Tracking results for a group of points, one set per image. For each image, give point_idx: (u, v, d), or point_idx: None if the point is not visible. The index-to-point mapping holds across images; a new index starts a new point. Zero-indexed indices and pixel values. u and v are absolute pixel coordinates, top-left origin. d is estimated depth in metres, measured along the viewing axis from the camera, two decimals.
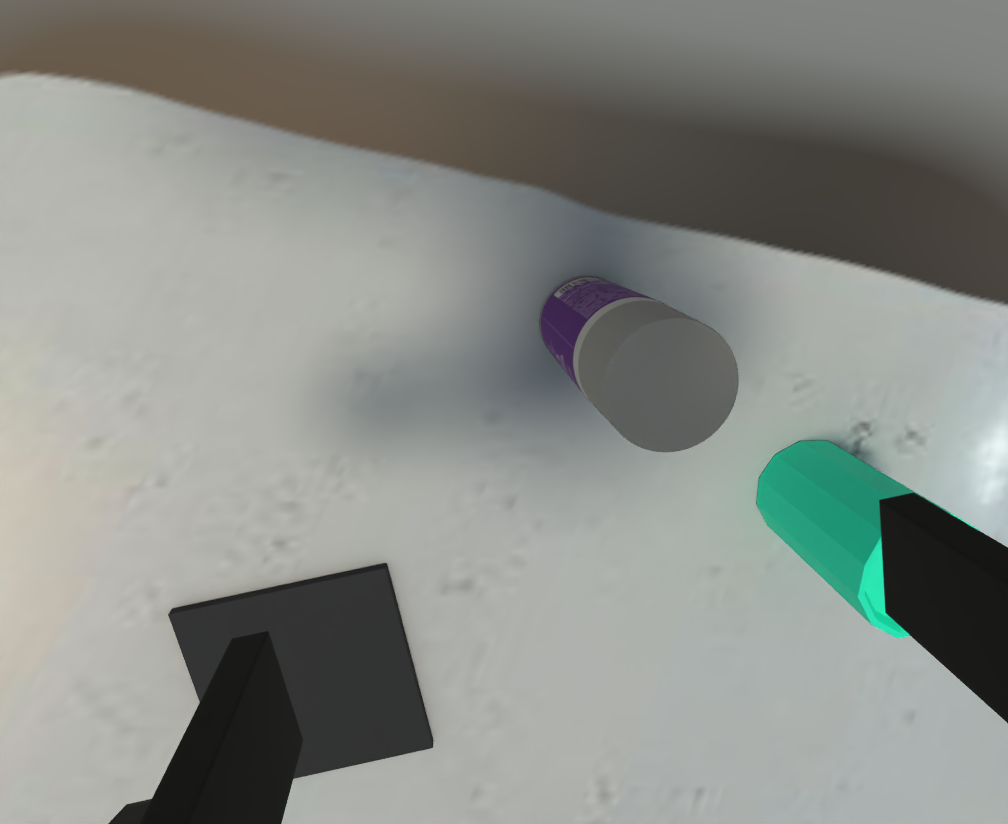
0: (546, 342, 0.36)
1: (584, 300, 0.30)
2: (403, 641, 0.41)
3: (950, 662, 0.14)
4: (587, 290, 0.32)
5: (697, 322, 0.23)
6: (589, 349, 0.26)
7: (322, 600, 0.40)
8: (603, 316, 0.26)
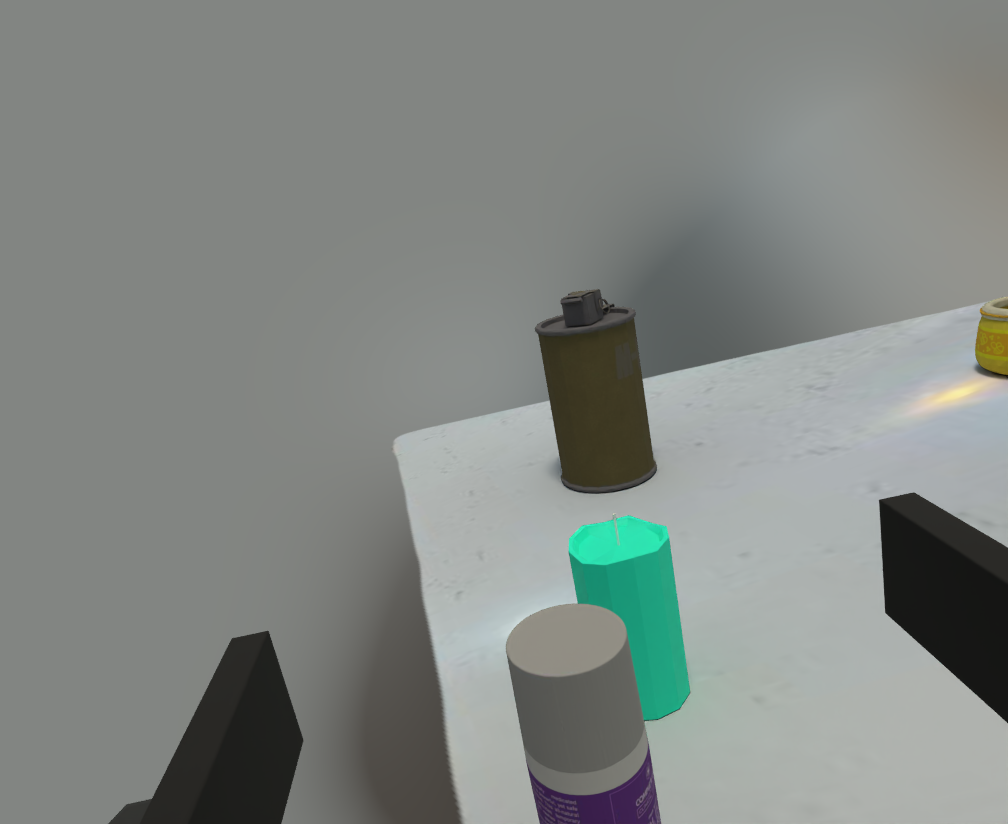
0: None
1: None
2: None
3: (950, 662, 0.14)
4: None
5: (507, 650, 0.26)
6: (587, 742, 0.25)
7: None
8: (558, 765, 0.26)
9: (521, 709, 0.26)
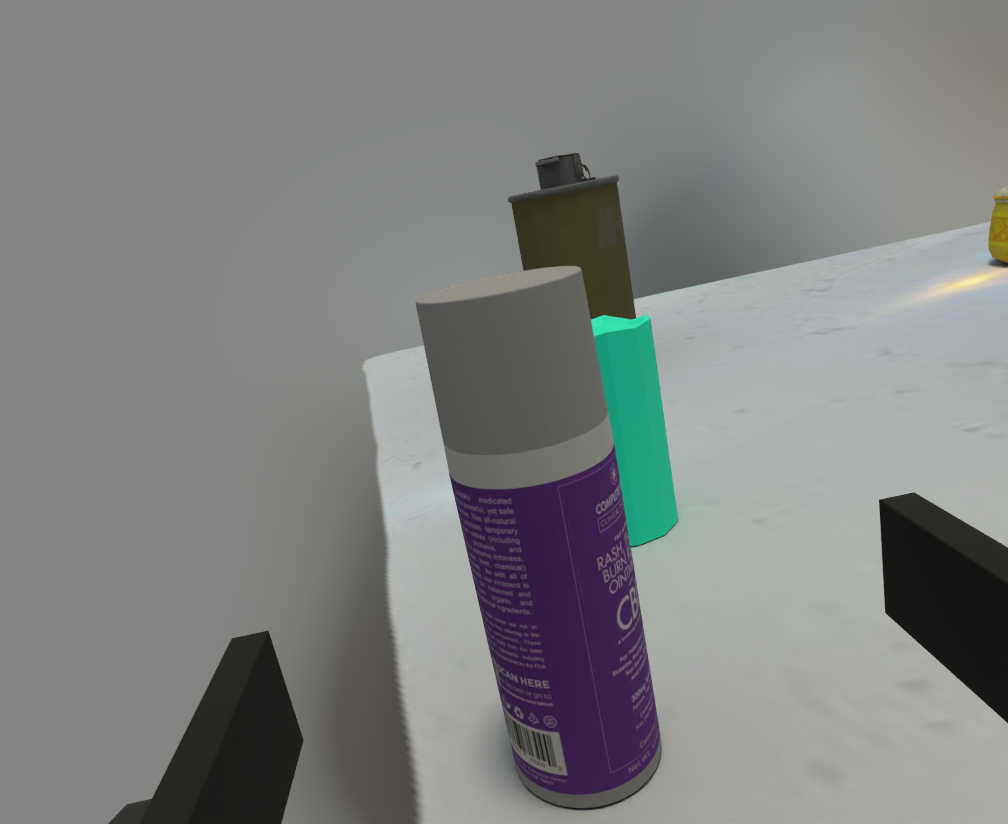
0: (638, 730, 0.21)
1: (510, 591, 0.19)
2: None
3: (950, 662, 0.14)
4: (507, 639, 0.20)
5: (417, 301, 0.19)
6: (525, 402, 0.18)
7: None
8: (485, 444, 0.18)
9: (436, 377, 0.19)
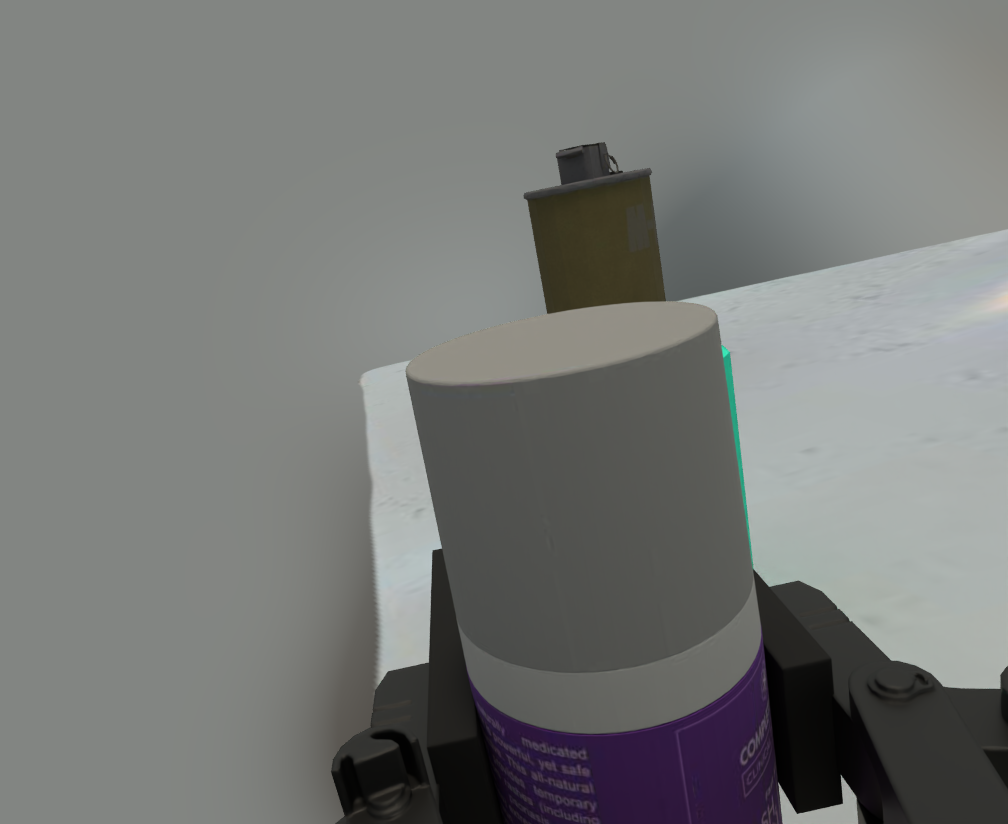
0: None
1: None
2: None
3: None
4: None
5: None
6: (619, 581, 0.09)
7: None
8: (537, 652, 0.09)
9: (443, 514, 0.10)
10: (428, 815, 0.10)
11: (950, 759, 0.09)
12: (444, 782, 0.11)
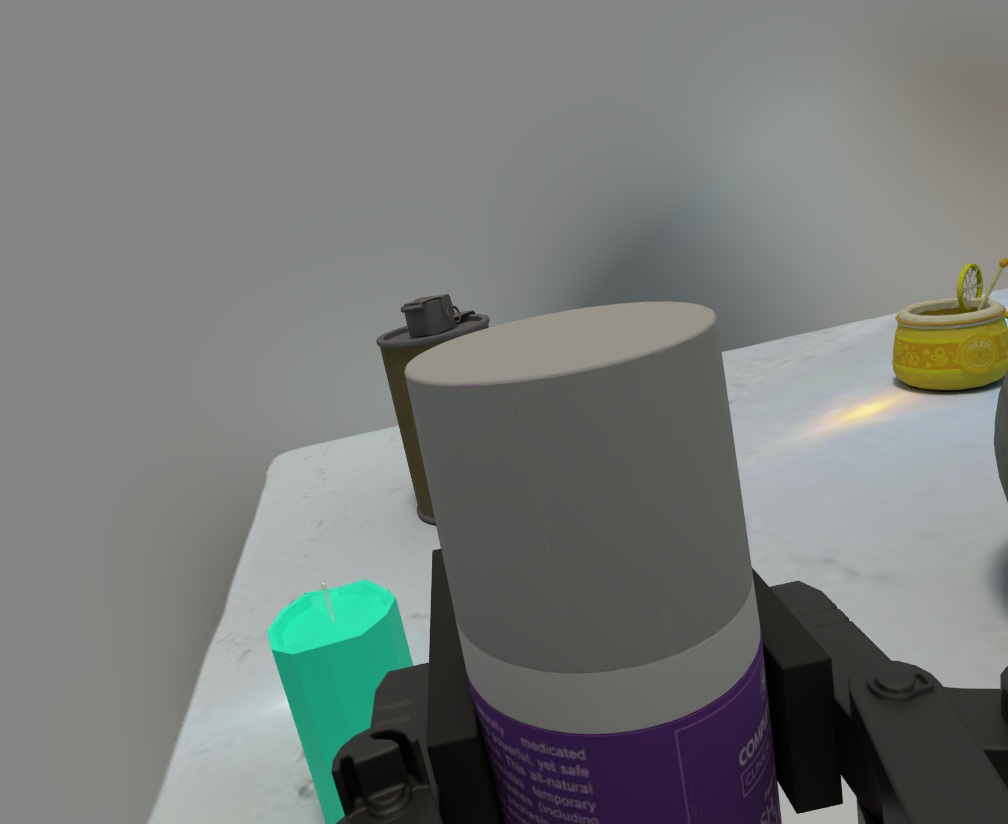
0: None
1: None
2: None
3: None
4: None
5: None
6: (618, 582, 0.09)
7: None
8: (537, 652, 0.09)
9: (442, 514, 0.10)
10: (428, 815, 0.10)
11: (951, 759, 0.09)
12: (444, 782, 0.11)
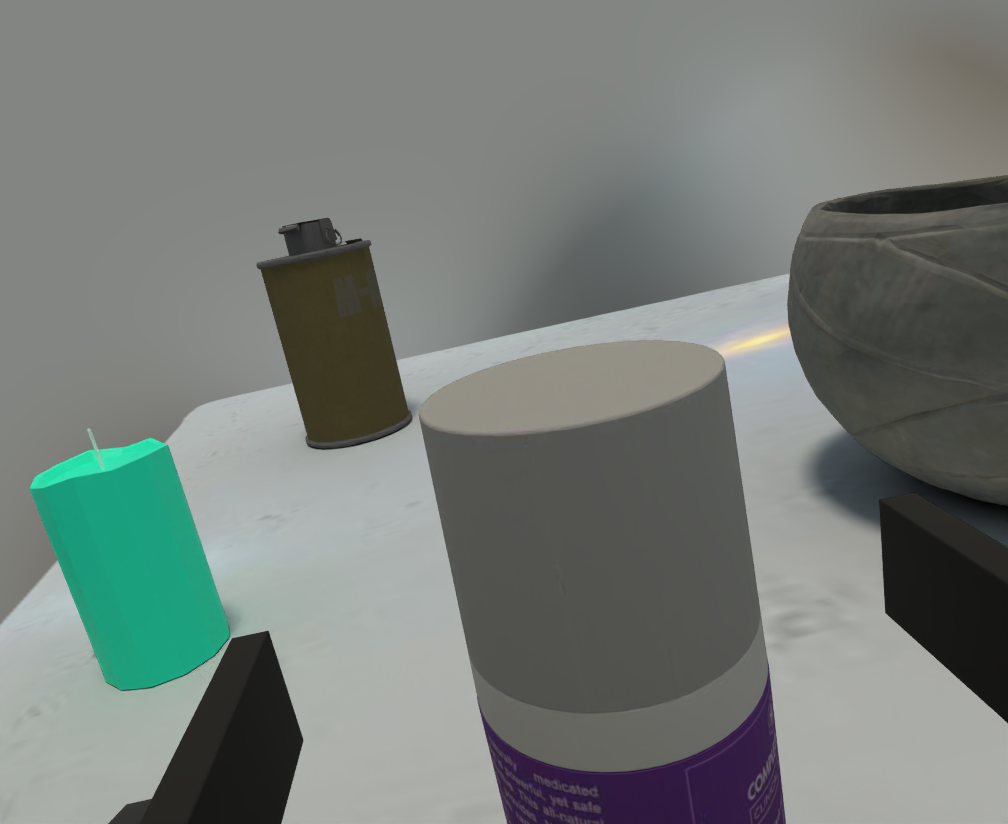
0: None
1: None
2: None
3: (950, 662, 0.14)
4: None
5: (421, 412, 0.11)
6: (631, 625, 0.09)
7: None
8: (550, 692, 0.10)
9: (456, 555, 0.10)
10: None
11: None
12: None
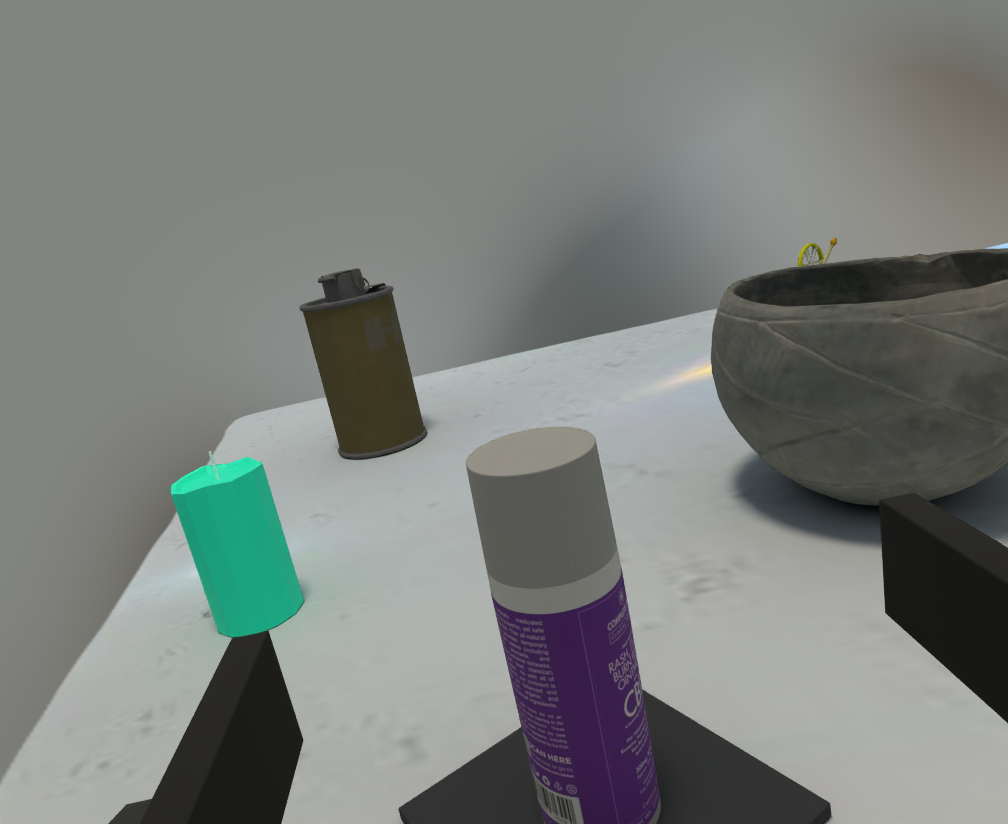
0: (641, 794, 0.26)
1: (540, 689, 0.25)
2: (489, 749, 0.33)
3: (951, 662, 0.14)
4: (537, 724, 0.25)
5: (466, 463, 0.25)
6: (553, 551, 0.23)
7: None
8: (521, 580, 0.24)
9: (482, 525, 0.24)
10: None
11: None
12: None
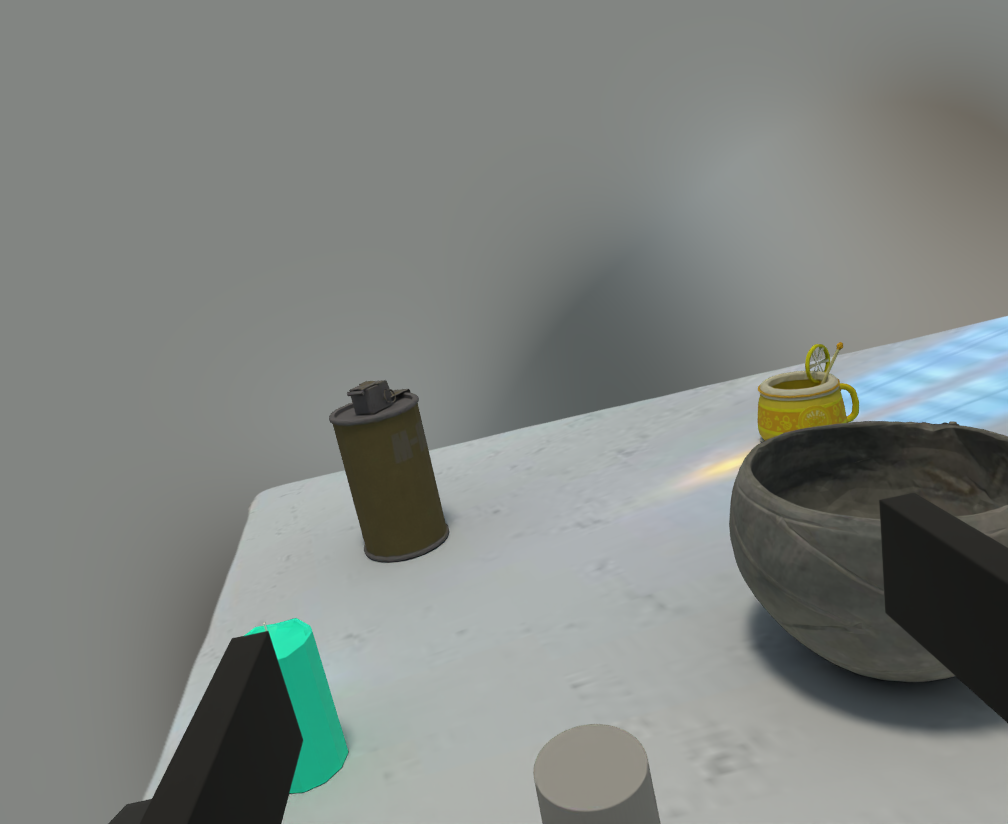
0: None
1: None
2: None
3: (950, 662, 0.14)
4: None
5: (534, 777, 0.28)
6: None
7: None
8: None
9: None
10: None
11: None
12: None
